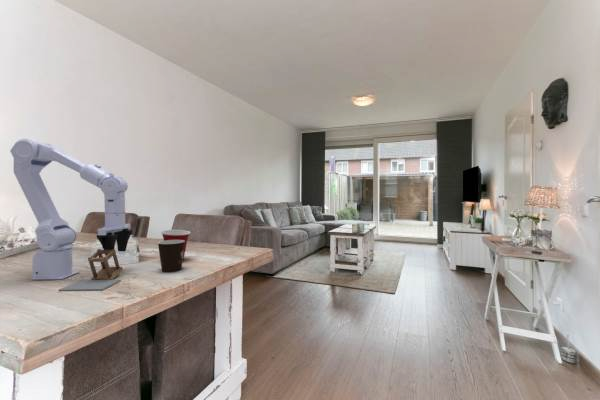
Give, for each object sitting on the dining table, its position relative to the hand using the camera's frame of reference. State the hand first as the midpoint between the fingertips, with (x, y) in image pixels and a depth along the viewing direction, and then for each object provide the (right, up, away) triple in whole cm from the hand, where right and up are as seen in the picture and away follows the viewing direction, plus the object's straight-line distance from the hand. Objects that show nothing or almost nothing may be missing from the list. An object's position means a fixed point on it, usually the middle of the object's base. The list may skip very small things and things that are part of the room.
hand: (115, 253), depth 94 cm
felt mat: (0, -7, -12) cm, 14 cm away
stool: (0, -6, -4) cm, 7 cm away
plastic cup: (+12, -7, +19) cm, 23 cm away
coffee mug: (+17, -7, +7) cm, 19 cm away
